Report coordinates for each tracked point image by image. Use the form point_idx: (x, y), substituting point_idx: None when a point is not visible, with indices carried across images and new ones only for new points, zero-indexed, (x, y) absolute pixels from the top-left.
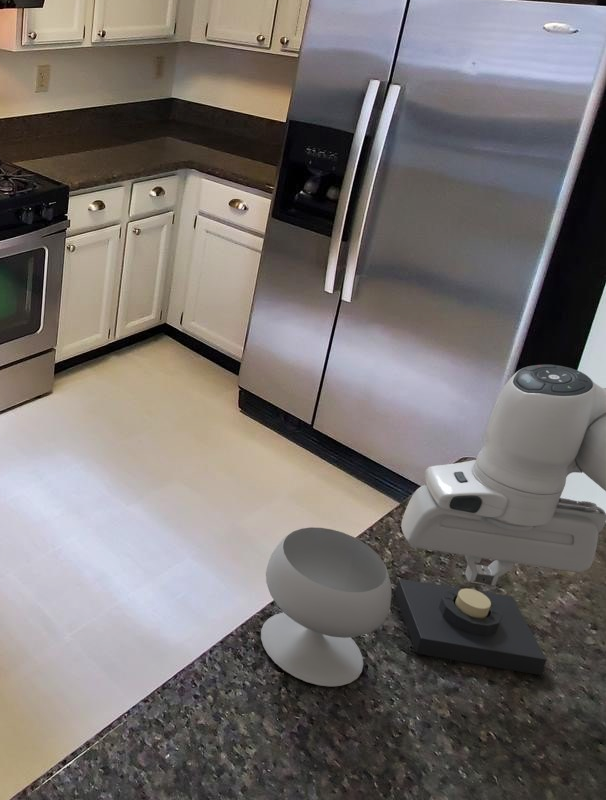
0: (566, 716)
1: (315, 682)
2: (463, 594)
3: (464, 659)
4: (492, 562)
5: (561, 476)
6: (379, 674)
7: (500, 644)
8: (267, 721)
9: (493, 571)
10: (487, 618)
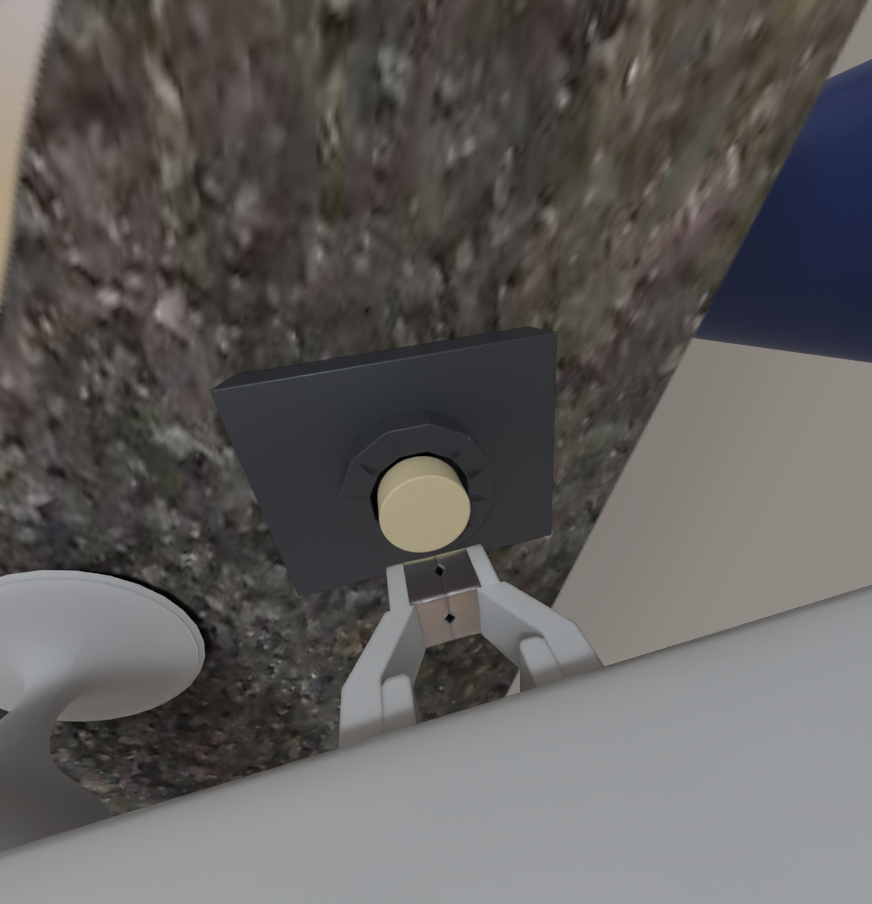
0: (538, 572)
1: (128, 715)
2: (394, 515)
3: None
4: (498, 605)
5: None
6: (241, 634)
7: (470, 537)
8: (88, 781)
9: (488, 627)
10: None
